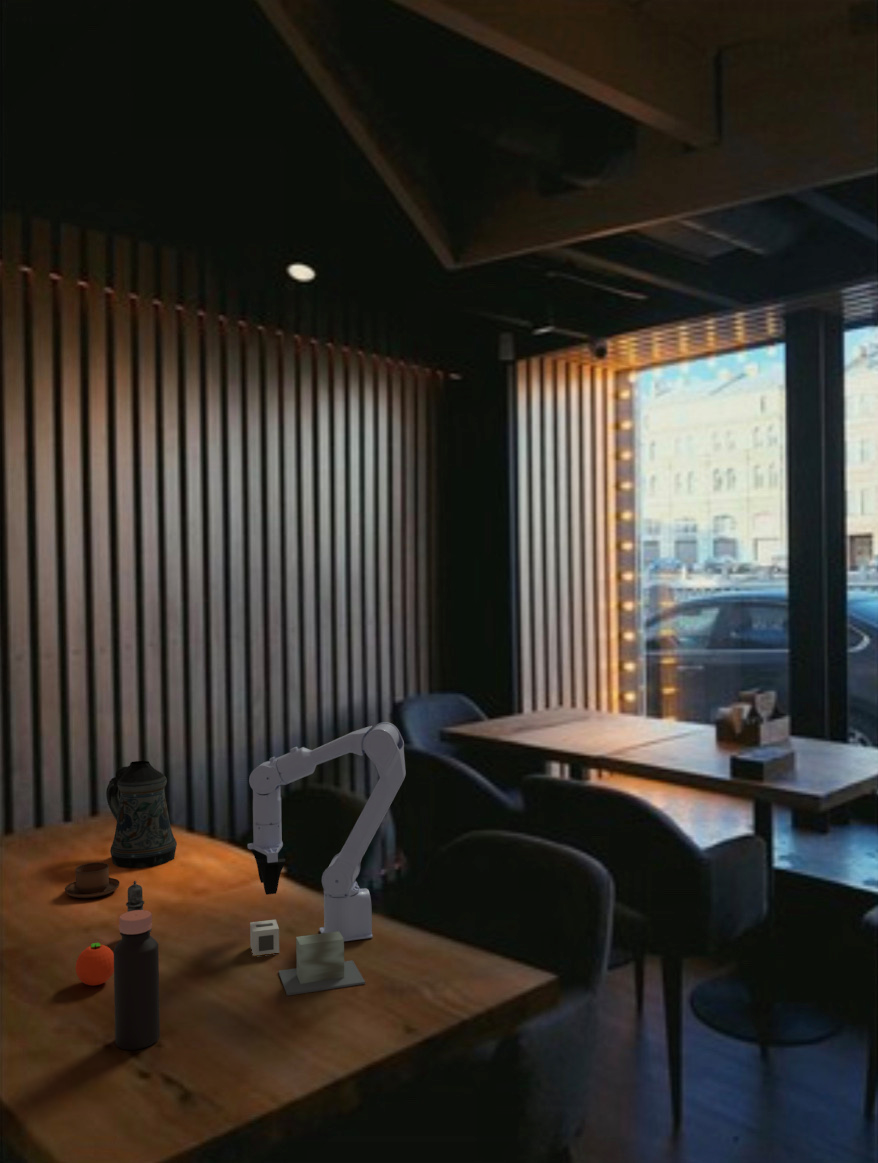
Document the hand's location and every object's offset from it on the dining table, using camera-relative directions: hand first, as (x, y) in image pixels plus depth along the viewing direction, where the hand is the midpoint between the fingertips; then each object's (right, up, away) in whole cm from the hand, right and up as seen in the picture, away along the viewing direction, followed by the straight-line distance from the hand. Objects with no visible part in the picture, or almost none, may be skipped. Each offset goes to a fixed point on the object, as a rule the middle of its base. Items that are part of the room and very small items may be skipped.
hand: (268, 887), depth 196 cm
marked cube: (+1, -10, -9) cm, 13 cm away
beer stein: (-43, -10, +52) cm, 68 cm away
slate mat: (+14, -10, -22) cm, 27 cm away
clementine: (-27, -10, -22) cm, 37 cm away
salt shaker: (-26, -10, -2) cm, 28 cm away
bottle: (-13, -10, -44) cm, 47 cm away
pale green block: (+13, -9, -22) cm, 27 cm away
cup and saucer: (-46, -10, +26) cm, 54 cm away
